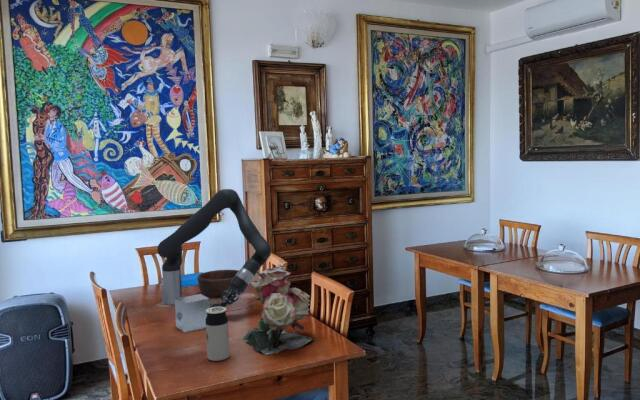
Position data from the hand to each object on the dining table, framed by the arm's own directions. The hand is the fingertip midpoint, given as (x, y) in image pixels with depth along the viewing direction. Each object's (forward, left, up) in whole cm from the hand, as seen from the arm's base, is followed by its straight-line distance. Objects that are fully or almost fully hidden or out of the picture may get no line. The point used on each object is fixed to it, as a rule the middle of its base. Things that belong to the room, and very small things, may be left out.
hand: (218, 310), depth 233 cm
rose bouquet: (+32, -25, -5) cm, 41 cm away
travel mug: (+12, -42, -5) cm, 44 cm away
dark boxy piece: (-8, -6, -4) cm, 11 cm away
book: (-40, +71, -5) cm, 82 cm away
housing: (-9, -8, -5) cm, 13 cm away
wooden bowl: (-12, +49, -5) cm, 51 cm away
